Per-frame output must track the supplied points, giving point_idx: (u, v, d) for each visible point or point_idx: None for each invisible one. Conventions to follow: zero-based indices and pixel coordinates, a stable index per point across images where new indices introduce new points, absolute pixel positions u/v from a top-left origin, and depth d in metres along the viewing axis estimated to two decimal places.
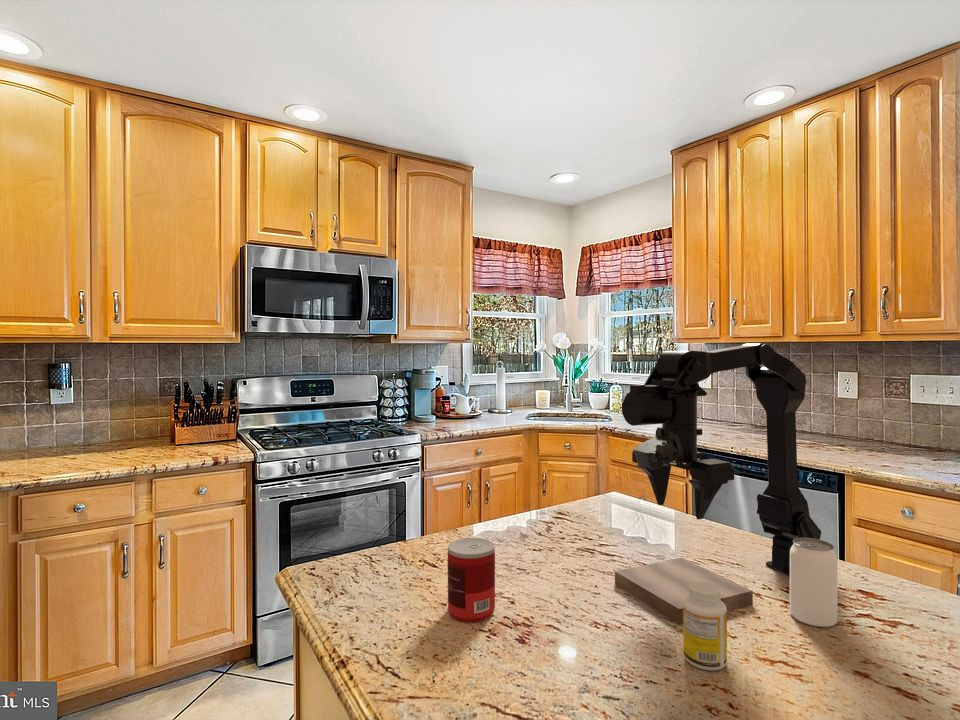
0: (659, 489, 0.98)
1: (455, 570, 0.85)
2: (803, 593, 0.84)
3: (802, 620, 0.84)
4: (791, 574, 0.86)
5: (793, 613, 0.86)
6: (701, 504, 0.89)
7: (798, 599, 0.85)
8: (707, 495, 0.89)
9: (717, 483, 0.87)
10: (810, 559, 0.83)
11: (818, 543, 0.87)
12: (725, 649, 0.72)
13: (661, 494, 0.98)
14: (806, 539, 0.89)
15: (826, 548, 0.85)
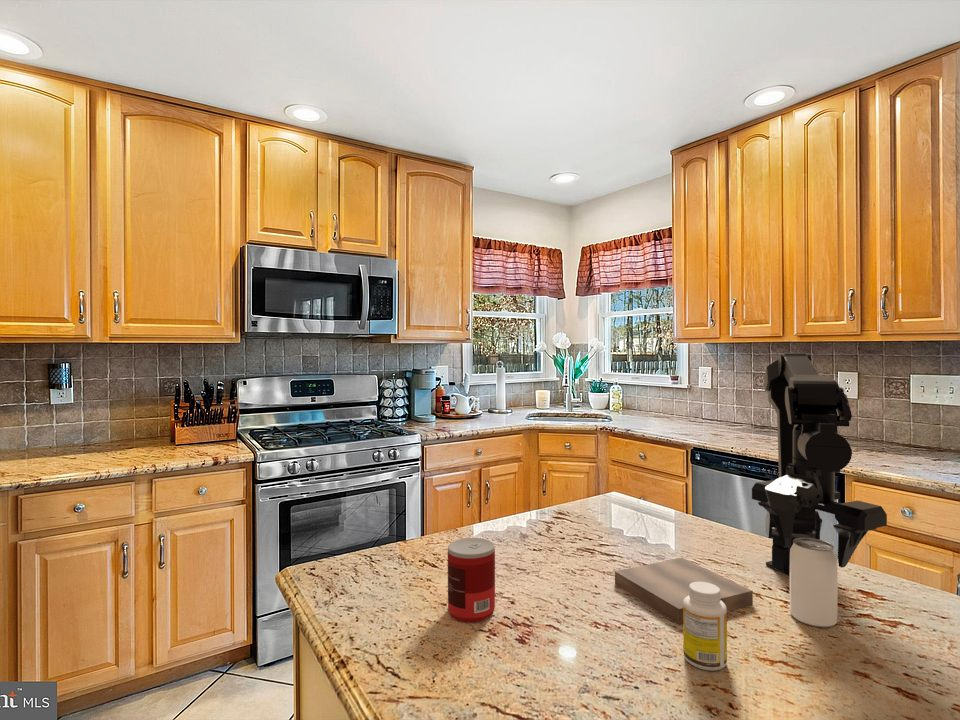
0: (785, 530, 0.90)
1: (455, 570, 0.85)
2: (803, 593, 0.84)
3: (802, 620, 0.84)
4: (791, 574, 0.86)
5: (793, 613, 0.86)
6: (846, 551, 0.81)
7: (798, 599, 0.85)
8: (852, 541, 0.81)
9: (867, 529, 0.79)
10: (810, 559, 0.83)
11: (818, 543, 0.87)
12: (725, 649, 0.72)
13: (787, 536, 0.90)
14: (806, 539, 0.89)
15: (826, 548, 0.85)
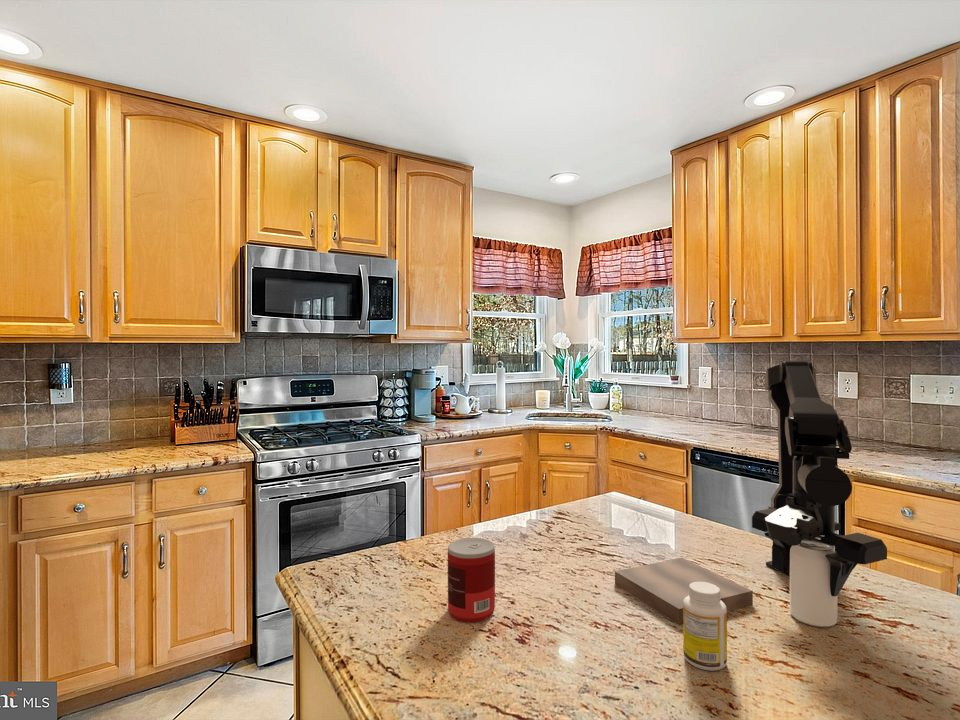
0: None
1: (455, 570, 0.85)
2: (803, 593, 0.84)
3: (802, 620, 0.84)
4: (791, 574, 0.86)
5: (793, 613, 0.86)
6: (838, 581, 0.82)
7: (798, 598, 0.85)
8: (844, 571, 0.82)
9: None
10: (810, 559, 0.83)
11: (818, 543, 0.87)
12: (725, 649, 0.72)
13: None
14: None
15: (826, 548, 0.85)
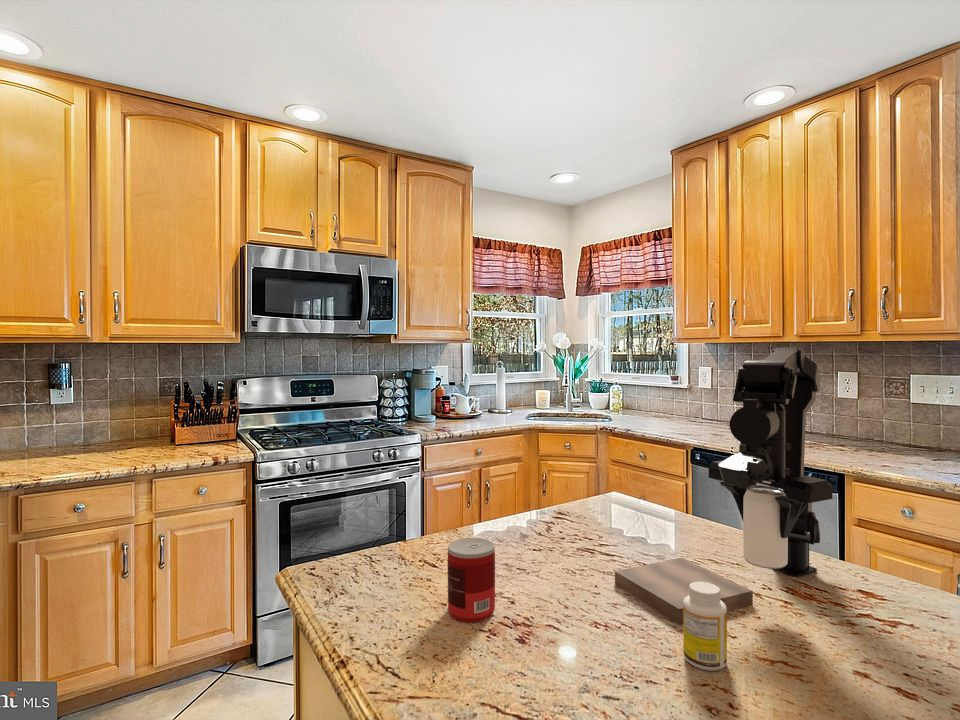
0: None
1: (455, 570, 0.85)
2: (755, 536, 0.87)
3: (754, 562, 0.87)
4: (744, 519, 0.89)
5: (746, 557, 0.89)
6: (787, 522, 0.85)
7: (750, 542, 0.88)
8: (793, 513, 0.85)
9: None
10: (761, 503, 0.86)
11: (770, 489, 0.90)
12: (725, 649, 0.72)
13: None
14: (759, 487, 0.91)
15: (777, 493, 0.87)
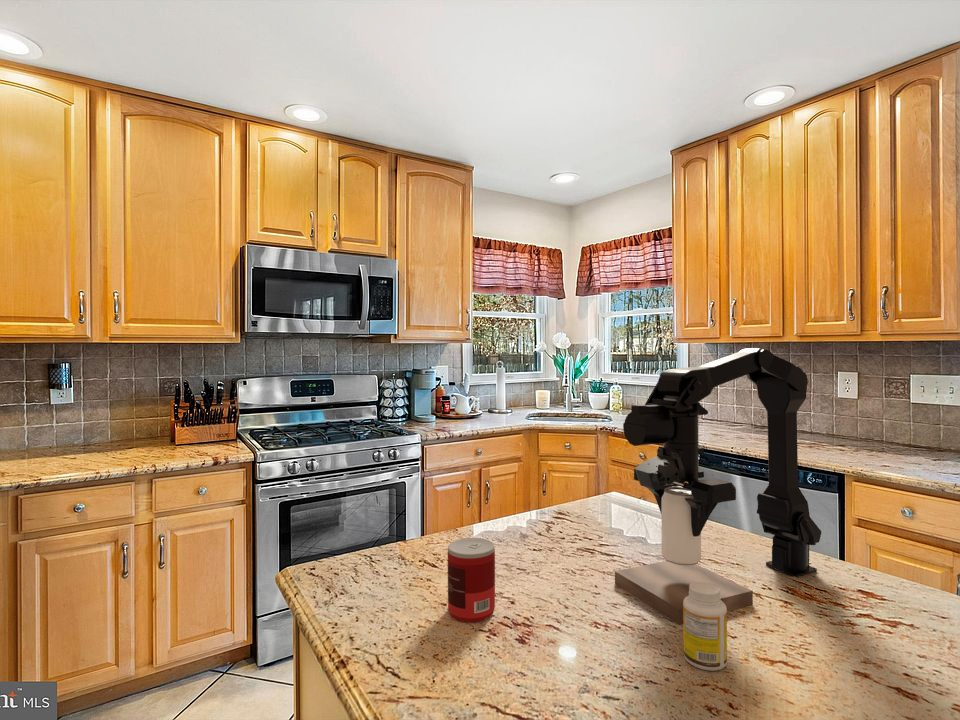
0: None
1: (455, 570, 0.85)
2: (669, 535, 0.93)
3: (669, 559, 0.93)
4: (661, 519, 0.95)
5: (663, 554, 0.95)
6: (697, 522, 0.90)
7: (665, 540, 0.93)
8: (703, 513, 0.91)
9: None
10: (674, 503, 0.92)
11: (687, 491, 0.96)
12: (725, 649, 0.72)
13: None
14: (678, 488, 0.97)
15: (691, 494, 0.93)
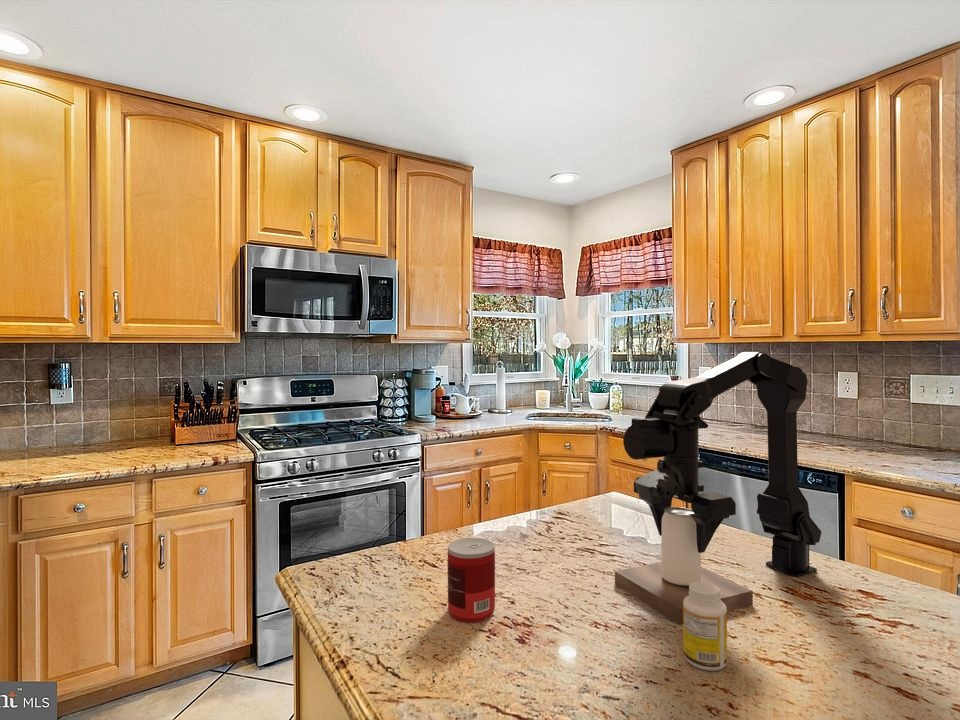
0: (661, 520, 0.99)
1: (455, 570, 0.85)
2: (669, 555, 0.93)
3: (668, 580, 0.93)
4: (661, 539, 0.95)
5: (662, 574, 0.95)
6: (703, 538, 0.89)
7: (665, 560, 0.94)
8: (709, 529, 0.89)
9: (719, 518, 0.87)
10: (674, 524, 0.92)
11: (687, 511, 0.96)
12: (725, 649, 0.72)
13: None
14: (678, 509, 0.98)
15: None
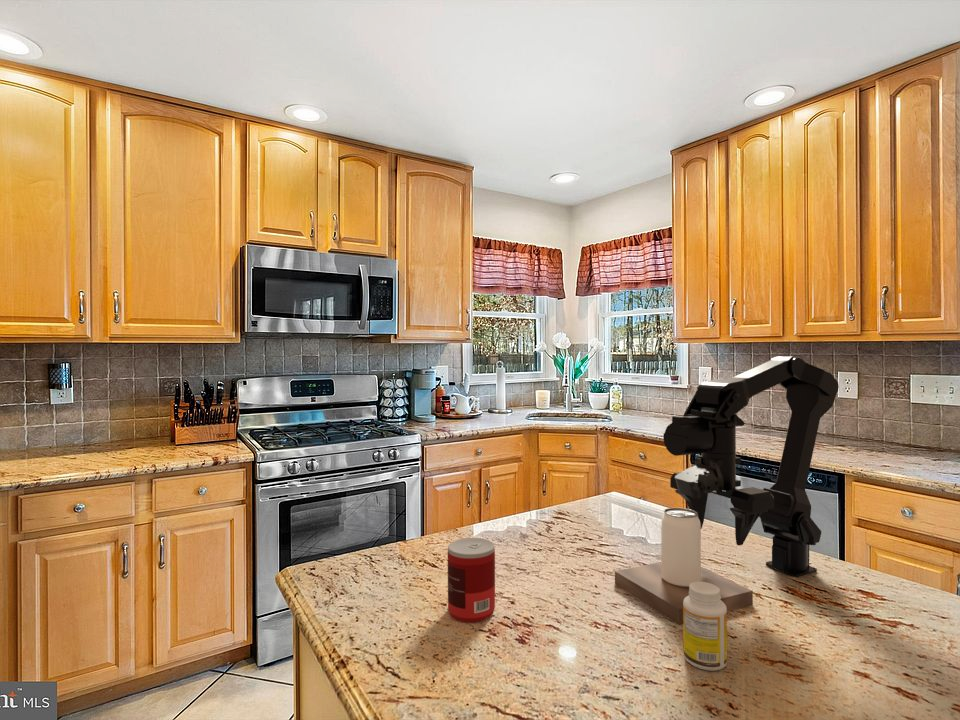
0: None
1: (455, 570, 0.85)
2: (669, 556, 0.93)
3: (668, 581, 0.93)
4: (661, 540, 0.95)
5: (662, 575, 0.95)
6: (741, 531, 0.93)
7: (665, 561, 0.94)
8: (747, 522, 0.93)
9: (758, 511, 0.91)
10: (674, 525, 0.92)
11: (687, 512, 0.96)
12: (725, 649, 0.72)
13: (699, 519, 1.02)
14: (678, 509, 0.97)
15: (691, 516, 0.93)
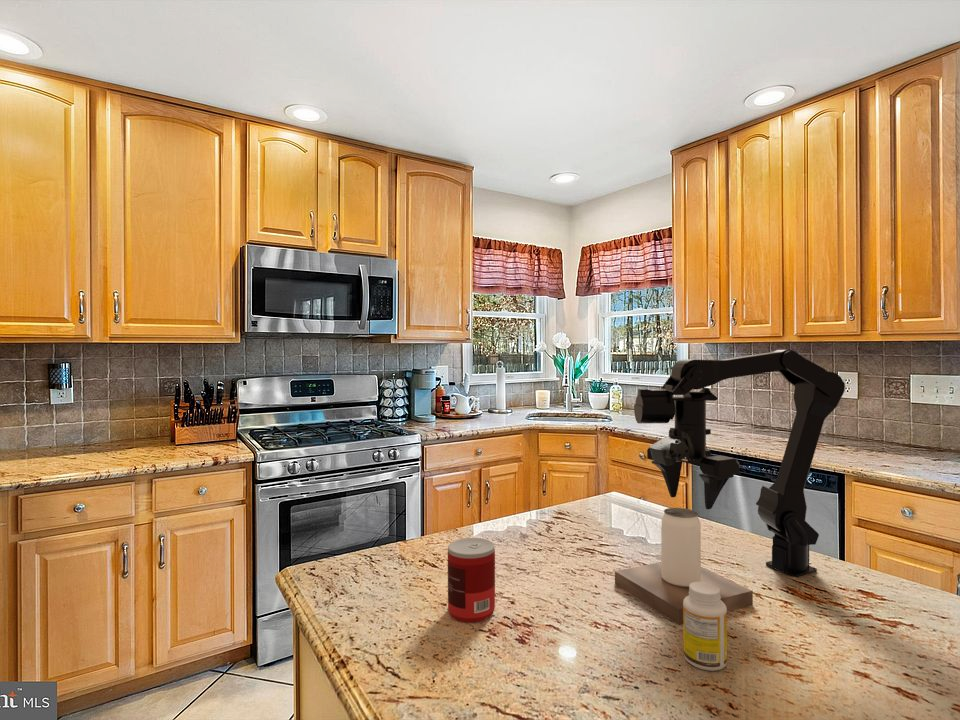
0: (671, 483, 1.10)
1: (455, 570, 0.85)
2: (669, 556, 0.93)
3: (668, 581, 0.93)
4: (661, 540, 0.95)
5: (662, 575, 0.95)
6: (710, 496, 1.00)
7: (665, 562, 0.94)
8: (715, 488, 1.01)
9: (724, 477, 0.98)
10: (674, 525, 0.92)
11: (687, 512, 0.96)
12: (725, 649, 0.72)
13: (673, 488, 1.10)
14: (678, 509, 0.97)
15: (691, 516, 0.93)
